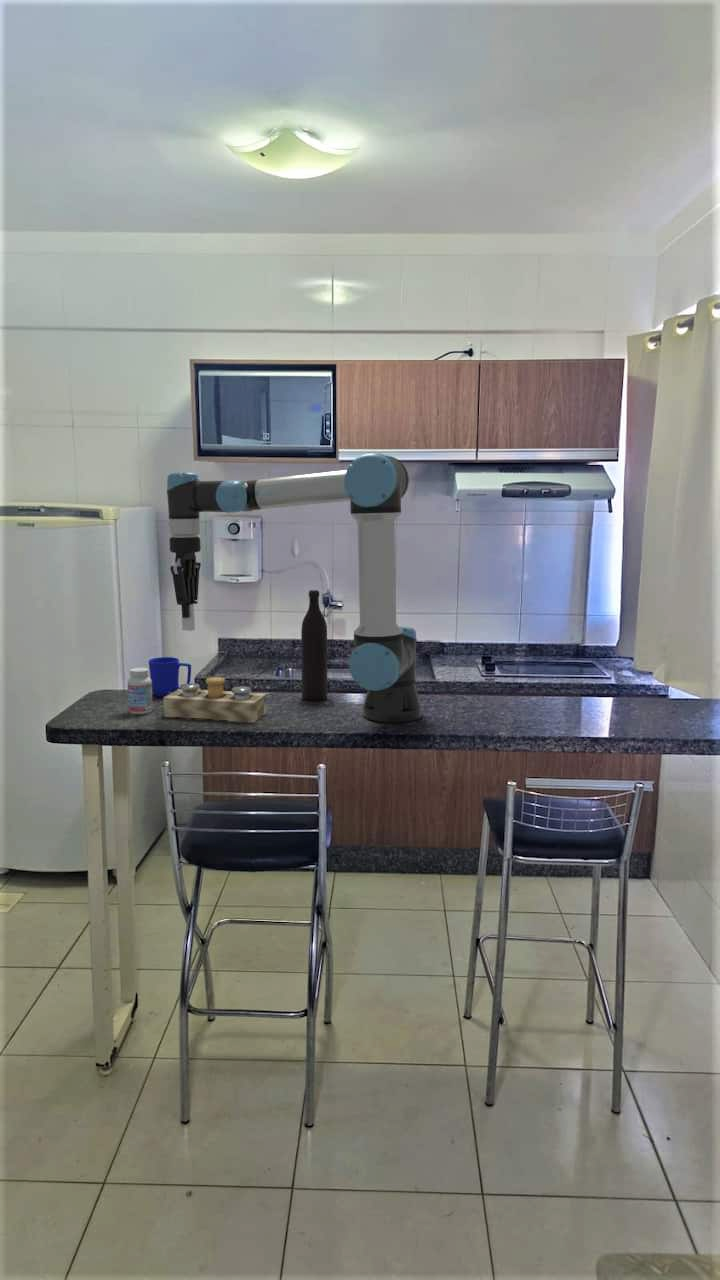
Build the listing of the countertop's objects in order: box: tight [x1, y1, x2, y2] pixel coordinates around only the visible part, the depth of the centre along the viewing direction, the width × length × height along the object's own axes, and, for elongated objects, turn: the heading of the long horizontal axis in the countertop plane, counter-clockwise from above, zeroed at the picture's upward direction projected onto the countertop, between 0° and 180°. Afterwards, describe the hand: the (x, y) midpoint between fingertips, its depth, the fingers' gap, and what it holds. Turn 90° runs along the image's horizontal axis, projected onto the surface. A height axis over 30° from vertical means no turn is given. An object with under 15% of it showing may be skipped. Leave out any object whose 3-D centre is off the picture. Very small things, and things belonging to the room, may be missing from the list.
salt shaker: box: [179, 682, 200, 697], centre depth 205 cm, size 5×5×7 cm
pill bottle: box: [126, 667, 154, 715], centre depth 206 cm, size 6×6×11 cm
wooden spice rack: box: [162, 688, 268, 724], centre depth 204 cm, size 24×10×5 cm, turn 78°
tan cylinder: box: [205, 676, 226, 698], centre depth 203 cm, size 5×5×7 cm
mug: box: [148, 656, 192, 698], centre depth 223 cm, size 8×12×10 cm
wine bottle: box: [300, 589, 328, 702], centre depth 219 cm, size 7×7×30 cm
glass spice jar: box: [231, 685, 252, 700], centre depth 202 cm, size 5×5×7 cm
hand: (188, 629), depth 202 cm, fingers closed
